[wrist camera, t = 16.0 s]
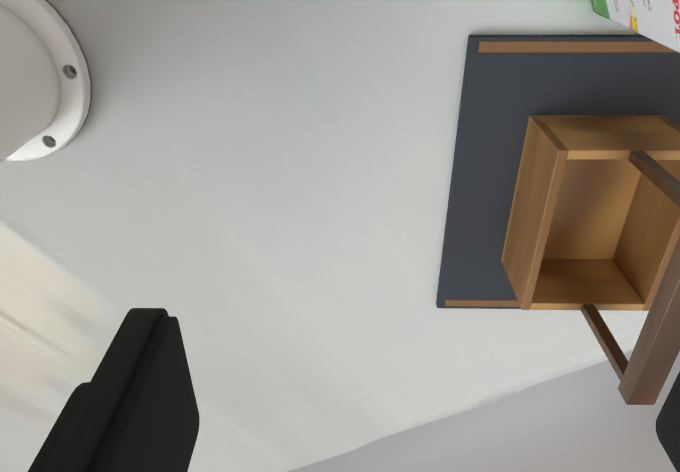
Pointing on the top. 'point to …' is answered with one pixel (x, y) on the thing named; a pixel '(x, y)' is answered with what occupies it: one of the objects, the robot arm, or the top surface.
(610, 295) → the basket
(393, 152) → the top surface
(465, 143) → the felt mat
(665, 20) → the ink box
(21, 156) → the robot arm
